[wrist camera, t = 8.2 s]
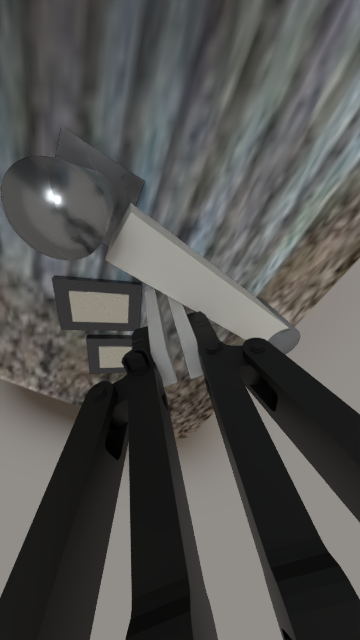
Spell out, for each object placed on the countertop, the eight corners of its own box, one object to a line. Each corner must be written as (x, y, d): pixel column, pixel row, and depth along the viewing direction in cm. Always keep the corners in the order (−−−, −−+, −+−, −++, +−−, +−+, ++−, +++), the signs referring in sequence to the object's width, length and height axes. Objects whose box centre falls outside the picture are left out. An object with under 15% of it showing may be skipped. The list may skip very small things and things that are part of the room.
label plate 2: (90, 369, 23) (89, 374, 22) (87, 334, 20) (86, 339, 19) (152, 367, 24) (153, 372, 24) (157, 335, 22) (157, 339, 21)
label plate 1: (62, 325, 19) (60, 330, 18) (54, 275, 16) (51, 279, 16) (138, 327, 21) (138, 331, 20) (141, 282, 18) (142, 285, 17)
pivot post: (46, 213, 14) (-47, 248, 6) (65, 129, 12) (-41, 43, 4) (118, 247, 16) (107, 302, 9) (144, 181, 14) (159, 181, 7)
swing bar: (110, 240, 14) (102, 264, 10) (132, 198, 13) (133, 206, 9) (249, 327, 21) (278, 361, 17) (271, 305, 20) (306, 336, 16)
